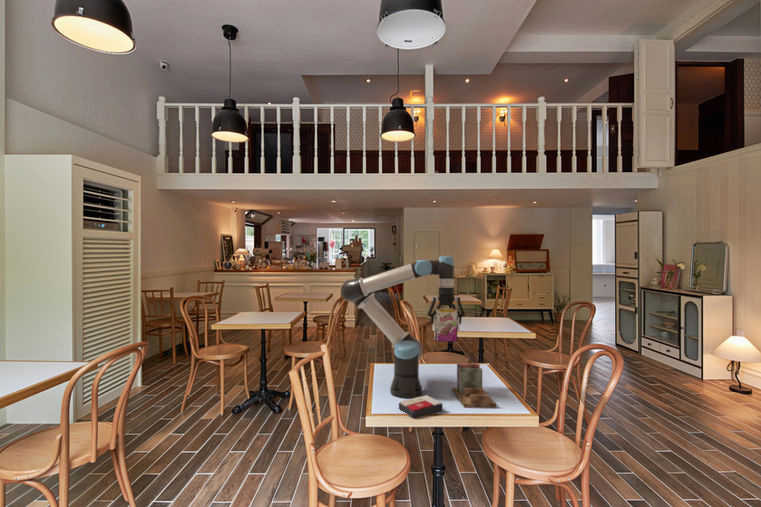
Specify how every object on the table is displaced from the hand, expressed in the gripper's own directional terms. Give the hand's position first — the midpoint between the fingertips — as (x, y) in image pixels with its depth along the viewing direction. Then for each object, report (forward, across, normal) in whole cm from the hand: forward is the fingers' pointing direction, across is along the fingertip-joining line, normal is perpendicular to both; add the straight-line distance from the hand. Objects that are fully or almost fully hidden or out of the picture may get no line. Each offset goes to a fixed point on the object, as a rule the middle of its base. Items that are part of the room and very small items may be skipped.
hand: (445, 330), depth 184 cm
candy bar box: (+5, 0, 0) cm, 5 cm away
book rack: (+28, +9, -17) cm, 34 cm away
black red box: (+29, -18, -29) cm, 44 cm away
